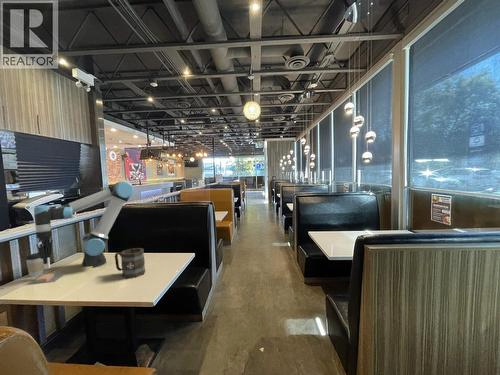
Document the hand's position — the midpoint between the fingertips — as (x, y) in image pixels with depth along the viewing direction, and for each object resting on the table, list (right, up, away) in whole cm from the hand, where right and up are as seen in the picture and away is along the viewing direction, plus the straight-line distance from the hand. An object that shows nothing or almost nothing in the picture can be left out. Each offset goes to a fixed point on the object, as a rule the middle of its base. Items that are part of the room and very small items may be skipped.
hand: (47, 268), depth 163 cm
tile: (0, -5, +1) cm, 5 cm away
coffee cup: (-13, -8, +8) cm, 17 cm away
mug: (+51, -5, +2) cm, 51 cm away
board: (+1, -7, -1) cm, 7 cm away
